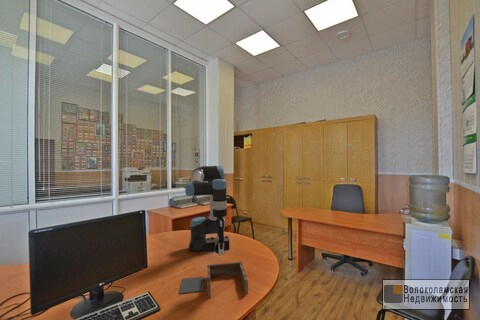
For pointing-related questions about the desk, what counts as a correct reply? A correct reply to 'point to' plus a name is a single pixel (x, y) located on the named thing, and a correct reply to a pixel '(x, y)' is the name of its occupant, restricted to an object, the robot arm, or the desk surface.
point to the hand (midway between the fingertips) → (220, 251)
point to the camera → (216, 244)
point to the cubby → (226, 273)
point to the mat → (192, 285)
